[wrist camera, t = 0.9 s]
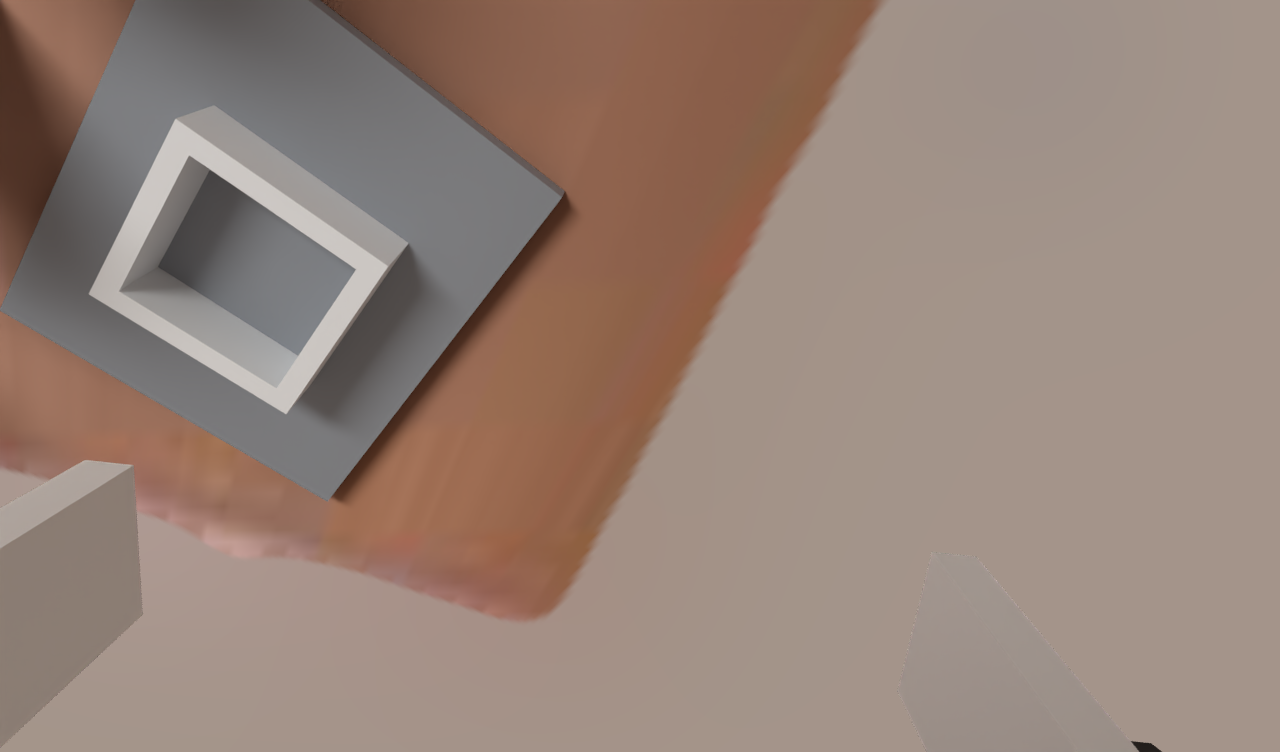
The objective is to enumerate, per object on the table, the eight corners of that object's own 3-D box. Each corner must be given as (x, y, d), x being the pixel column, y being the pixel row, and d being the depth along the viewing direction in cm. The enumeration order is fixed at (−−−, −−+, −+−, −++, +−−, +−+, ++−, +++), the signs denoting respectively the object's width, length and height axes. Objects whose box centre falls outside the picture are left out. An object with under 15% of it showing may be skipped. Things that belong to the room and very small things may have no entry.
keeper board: (193, -99, 31) (132, -105, 27) (564, 191, 36) (553, 217, 32) (14, 302, 39) (-50, 337, 36) (334, 490, 44) (305, 537, 41)
